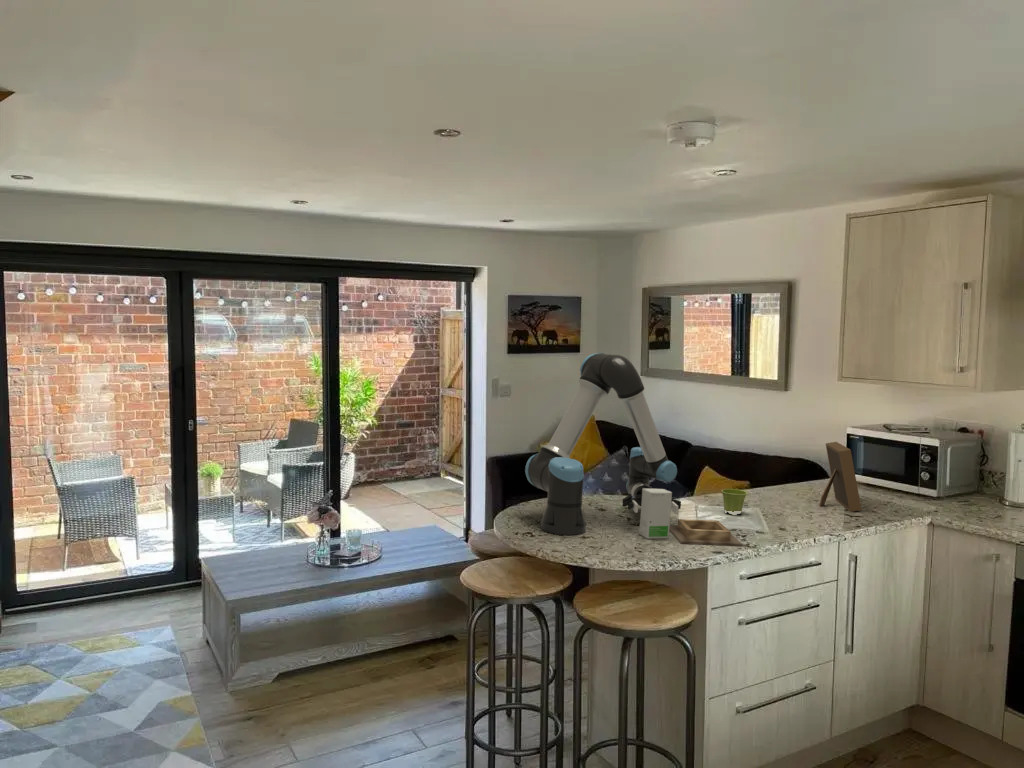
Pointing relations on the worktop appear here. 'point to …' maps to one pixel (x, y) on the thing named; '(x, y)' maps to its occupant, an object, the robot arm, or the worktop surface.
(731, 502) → the plant pot
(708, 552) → the worktop surface
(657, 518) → the skincare box
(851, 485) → the photo frame
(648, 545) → the worktop surface
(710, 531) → the socket board
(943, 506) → the worktop surface
